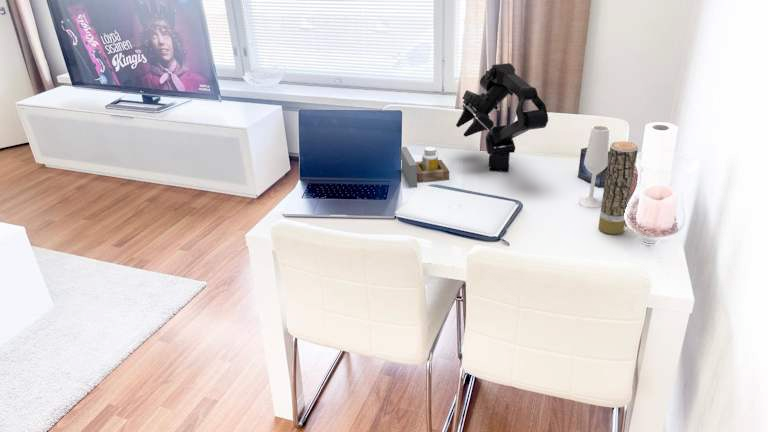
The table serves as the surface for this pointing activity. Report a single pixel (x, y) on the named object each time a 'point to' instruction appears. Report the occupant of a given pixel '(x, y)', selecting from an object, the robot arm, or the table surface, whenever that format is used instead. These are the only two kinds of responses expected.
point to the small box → (586, 175)
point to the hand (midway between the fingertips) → (460, 131)
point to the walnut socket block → (432, 173)
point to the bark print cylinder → (617, 186)
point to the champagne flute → (596, 160)
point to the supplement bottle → (429, 159)
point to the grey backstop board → (409, 167)
